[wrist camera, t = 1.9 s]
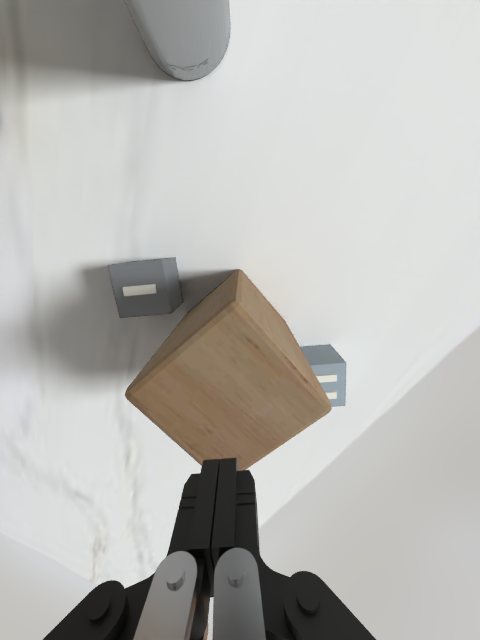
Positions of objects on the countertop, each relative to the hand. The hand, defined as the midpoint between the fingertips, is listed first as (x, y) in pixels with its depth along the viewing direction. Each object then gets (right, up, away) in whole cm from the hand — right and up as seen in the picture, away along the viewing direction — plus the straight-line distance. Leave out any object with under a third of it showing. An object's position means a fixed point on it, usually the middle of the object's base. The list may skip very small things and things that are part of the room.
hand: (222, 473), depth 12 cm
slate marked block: (+11, 0, +26) cm, 29 cm away
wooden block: (0, +7, +25) cm, 26 cm away
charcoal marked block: (-10, +12, +23) cm, 28 cm away
